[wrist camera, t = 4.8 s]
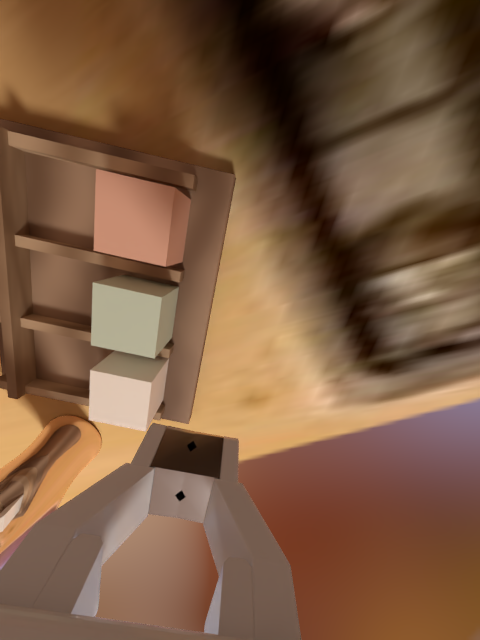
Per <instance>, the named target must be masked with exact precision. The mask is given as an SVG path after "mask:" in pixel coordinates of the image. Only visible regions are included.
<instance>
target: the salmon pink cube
mask: <svg viewBox="0 0 480 640" xmlns="http://www.w3.org/2000/svg"><path fill="white" fill-rule="evenodd" d="M190 205H191V199H189V198H188V197H187V196H185V195H184V194H183V193H182V192H180V191H179V190H178V189H176V188H175V187H171V186H167V185H162V184H158V183H154V182H150V181H145V180H141V179H137V178H133V177H128V176H124V175H120V174H116V173H111V172H107V171H103V170H99V169H96V183H95V218H94V251H98V252H102V253H107V254H111V255H115V256H120V257H124V258H129V259H133V260H138V261H142V262H147V263H151V264H156V265H160V266H165V267H166V266H170V265H174V264H178V263H181V262H183V255H184V248H185V241H186V234H187V227H188V220H189V212H190Z"/></svg>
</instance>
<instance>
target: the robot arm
mask: <svg viewBox="0 0 480 640" xmlns="http://www.w3.org/2000/svg"><path fill="white" fill-rule="evenodd" d="M238 450H239V441H238V439H236V438H230V437H223V436H218V435H212V434H207V433H201V432H195V431H190V430H185V429H181V428H176V427H171V426H165V425H160V424H156V423H153V424H152V425H151V426H150V428H149V430H148V431H147V433H146V435H145V437H144V439H143V441H142V443H141V445H140V447H139V449H138V451H137V453H136V455H135V457H134V458H133V460H132V462H131V464H129V463H125V464H124V465H122V466H121V467H119V468H118V469H116V470H115V471H113V472H112V473H110V474H109V475H107V476H106V477H104V478H103V479H101V480H100V481H98V482H97V483H95V484H94V485H92V486H91V487H89V488H88V489H86V490H85V491H83V492H82V493H80V494H79V495H77V496H76V497H74V498H73V499H72V500H70V501H69V502H67V503H66V504H64V505H63V506H61V507H60V508H58V509H57V510H55V511H54V512H52V513H51V514H49V515H48V516H46V517H45V518H43V519H42V520H40V521H39V522H37V523H36V524H35V525H34V526H33V528H32V529H31V530H30V532H29V533H28V534H27V536H26V537H25V538H24V540H23V541H22V542H21V544H20V545H19V546H18V548H17V549H16V550H15V552H14V553H13V554H12V556H11V557H10V558H9V560H8V561H7V562H6V564H5V565H4V566H3V568H2V569H1V570H0V640H301V635H300V628H299V621H298V614H297V608H296V601H295V595H294V587H293V580H292V574H291V567H290V564H289V562H288V561H287V559H286V557H285V556H284V554H283V552H282V550H281V549H280V547H279V545H278V543H277V542H276V540H275V538H274V537H273V535H272V534H271V532H270V530H269V528H268V527H267V525H266V523H265V521H264V520H263V518H262V516H261V515H260V513H259V511H258V509H257V508H256V506H255V504H254V503H253V501H252V499H251V497H250V496H249V494H248V492H247V491H246V489H245V487H244V485H243V484H241V483H238ZM148 514H153V515H160V516H167V517H175V518H181V519H185V520H190V521H195V522H200V523H204V524H203V526H204V529H205V532H206V535H207V538H208V542H209V545H210V548H211V551H212V555H213V558H214V561H215V564H216V568H217V571H218V574H219V580H218V583H217V586H216V589H215V592H214V596H213V599H212V602H211V606H210V609H209V612H208V615H207V618H206V622H205V628H204V629H205V630H204V633H202V632H196V631H189V630H182V629H175V628H168V627H160V626H154V625H147V624H140V623H133V622H126V621H119V620H111V619H105V618H98V617H95V615H96V613H97V610H98V605H99V593H100V592H99V591H100V579H101V566H102V565H103V563H105V562H106V560H107V559H108V558H109V557H110V556H111V555H112V554H113V553H114V552H115V551H116V550H117V549H118V548H119V546H120V545H121V544H122V543H123V542H124V541H125V540H126V539H127V538H128V537H129V536H130V534H131V533H132V532H133V531H134V530H135V529H136V528H137V527H138V526H139V525H140V524H141V523H142V522H143V521H144V519H145V518H146V517H147V516H148Z"/></svg>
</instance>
